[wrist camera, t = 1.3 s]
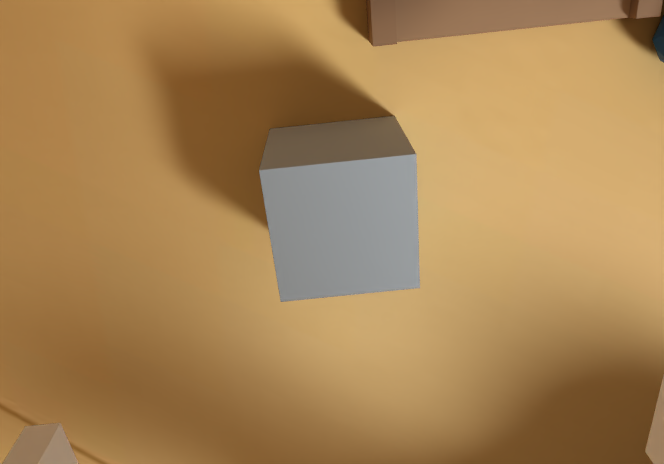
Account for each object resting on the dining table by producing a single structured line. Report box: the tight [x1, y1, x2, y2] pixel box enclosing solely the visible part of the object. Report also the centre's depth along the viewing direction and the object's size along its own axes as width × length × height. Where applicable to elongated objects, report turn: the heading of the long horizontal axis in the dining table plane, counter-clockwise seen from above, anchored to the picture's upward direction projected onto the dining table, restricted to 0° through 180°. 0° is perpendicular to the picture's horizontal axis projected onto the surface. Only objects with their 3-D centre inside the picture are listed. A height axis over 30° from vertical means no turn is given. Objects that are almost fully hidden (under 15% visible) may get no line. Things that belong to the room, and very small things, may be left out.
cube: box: [259, 116, 420, 302], centre depth 24 cm, size 6×6×6 cm
